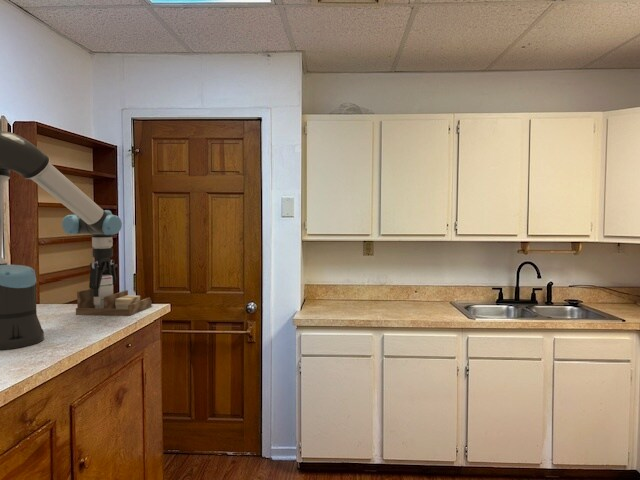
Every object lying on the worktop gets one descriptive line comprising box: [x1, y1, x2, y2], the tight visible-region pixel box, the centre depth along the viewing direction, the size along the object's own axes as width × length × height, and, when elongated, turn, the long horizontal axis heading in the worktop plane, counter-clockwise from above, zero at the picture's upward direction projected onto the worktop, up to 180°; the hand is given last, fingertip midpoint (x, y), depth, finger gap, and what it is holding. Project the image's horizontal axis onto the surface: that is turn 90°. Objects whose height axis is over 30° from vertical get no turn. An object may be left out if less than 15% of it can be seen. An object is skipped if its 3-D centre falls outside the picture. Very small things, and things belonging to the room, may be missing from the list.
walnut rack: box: [75, 287, 153, 317], centre depth 173 cm, size 18×22×9 cm
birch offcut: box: [115, 294, 141, 307], centre depth 172 cm, size 8×6×3 cm
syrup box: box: [95, 274, 114, 308], centre depth 173 cm, size 6×6×14 cm
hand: (103, 302), depth 173 cm, fingers closed on syrup box, 8 cm apart
